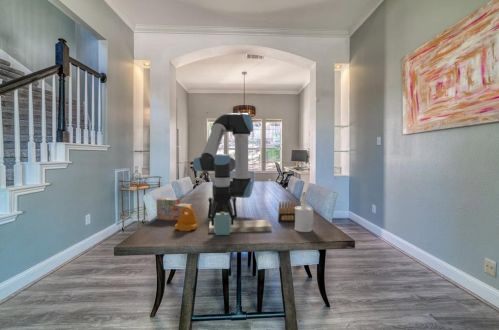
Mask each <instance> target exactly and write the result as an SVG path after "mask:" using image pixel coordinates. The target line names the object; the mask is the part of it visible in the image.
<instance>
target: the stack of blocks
mask: <svg viewBox="0 0 499 330" xmlns="http://www.w3.org/2000/svg"><path fill="white" fill-rule="evenodd" d="M155 200H156V219H157V220H162V221H163V220H165V221H173V220H174V221H176V222H178V219H179V217H180V214H181V209H182V208H183V207H184V206H186V205H190V206H191V207H192V208H193V209H194V204H193V203H180V201H181V200H180V198H176V197H160V198H157V199H155ZM185 211H186V212H187V213H189V211H188V210H187V209H185Z"/></svg>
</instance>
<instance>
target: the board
mask: <svg viewBox="0 0 499 330" xmlns="http://www.w3.org/2000/svg"><path fill="white" fill-rule="evenodd" d="M208 225H209V226H208V233H209V234H215V233H214V226H212V220H210V221H209V224H208ZM271 231H272V225H271V224H270V222H269V220H268V219H250V220H249V219H248V220H234V224H233V225H231V232H230V233H247V232H248V233H252V232H253V233H255V232H271Z"/></svg>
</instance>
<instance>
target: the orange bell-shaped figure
mask: <svg viewBox="0 0 499 330" xmlns="http://www.w3.org/2000/svg"><path fill="white" fill-rule="evenodd" d="M185 209H187V210H188V211H189V213H187V212H186V211H185ZM176 222H177V223H175V225H174V230H179V231H181V232H191V231H192V230H196V229H197V228H198V226H199V221H198V219H197V215H196V213H195V211H194V207H193V208H192V207H191V206H190V205H186V206H184V207H183V208H182V209H181V214H180V217H179V219H178V221H176Z"/></svg>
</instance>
